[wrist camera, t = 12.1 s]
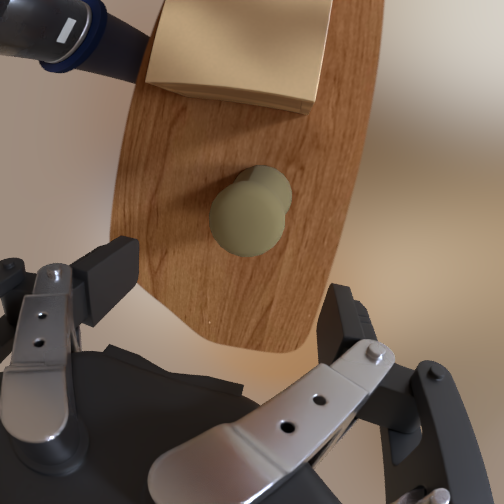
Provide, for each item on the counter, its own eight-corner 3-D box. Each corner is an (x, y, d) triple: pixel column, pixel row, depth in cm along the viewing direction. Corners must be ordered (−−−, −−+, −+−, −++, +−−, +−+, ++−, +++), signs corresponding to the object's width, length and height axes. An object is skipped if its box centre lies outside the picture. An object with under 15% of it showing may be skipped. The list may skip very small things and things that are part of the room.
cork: (286, 230, 30) (281, 277, 20) (227, 219, 30) (193, 260, 20) (297, 171, 28) (299, 187, 17) (235, 160, 28) (201, 171, 18)
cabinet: (214, -20, 21) (188, -63, 12) (329, -8, 20) (340, -54, 12) (186, 97, 26) (144, 82, 18) (308, 115, 26) (315, 102, 17)
